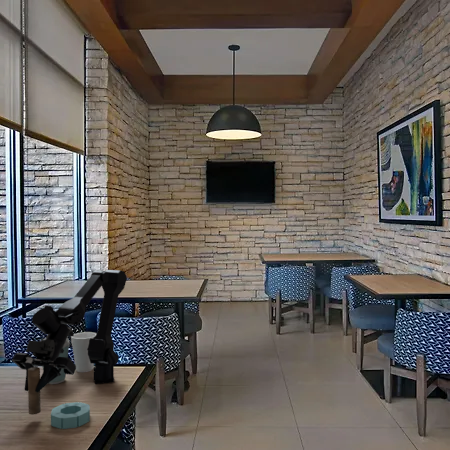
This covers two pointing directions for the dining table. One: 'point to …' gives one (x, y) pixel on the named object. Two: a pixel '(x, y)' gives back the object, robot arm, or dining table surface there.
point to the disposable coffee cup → (63, 375)
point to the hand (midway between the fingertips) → (30, 391)
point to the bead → (70, 415)
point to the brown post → (33, 391)
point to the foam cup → (82, 351)
